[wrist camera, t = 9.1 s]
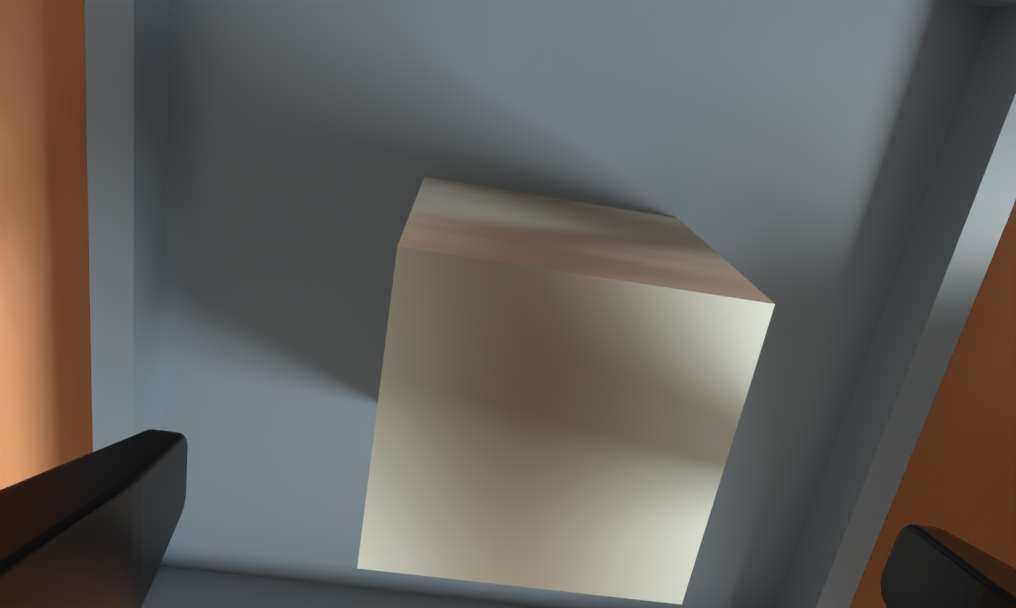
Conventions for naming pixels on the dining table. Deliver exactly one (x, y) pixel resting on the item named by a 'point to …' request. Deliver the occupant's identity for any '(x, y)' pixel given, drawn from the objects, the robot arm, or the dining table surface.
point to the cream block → (555, 394)
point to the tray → (547, 172)
